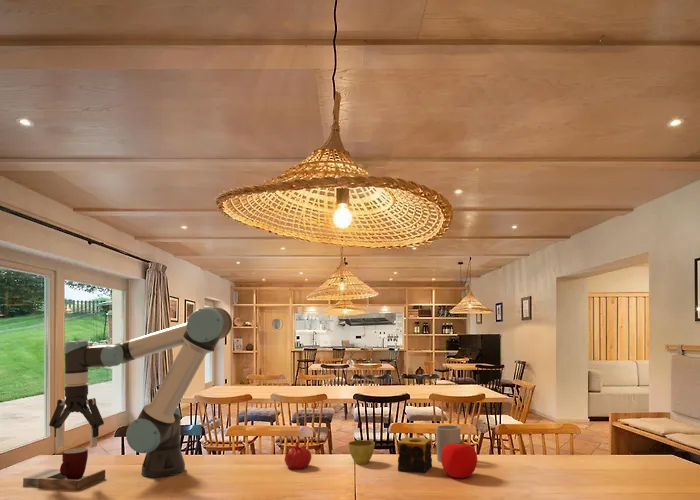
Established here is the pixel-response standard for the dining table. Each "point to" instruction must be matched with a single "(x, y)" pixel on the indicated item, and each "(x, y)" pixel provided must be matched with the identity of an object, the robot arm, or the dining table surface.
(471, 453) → the tomato
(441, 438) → the cup
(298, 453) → the pomegranate
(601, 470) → the dining table surface
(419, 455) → the candle
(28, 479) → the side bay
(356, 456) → the flower pot
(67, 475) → the mug
